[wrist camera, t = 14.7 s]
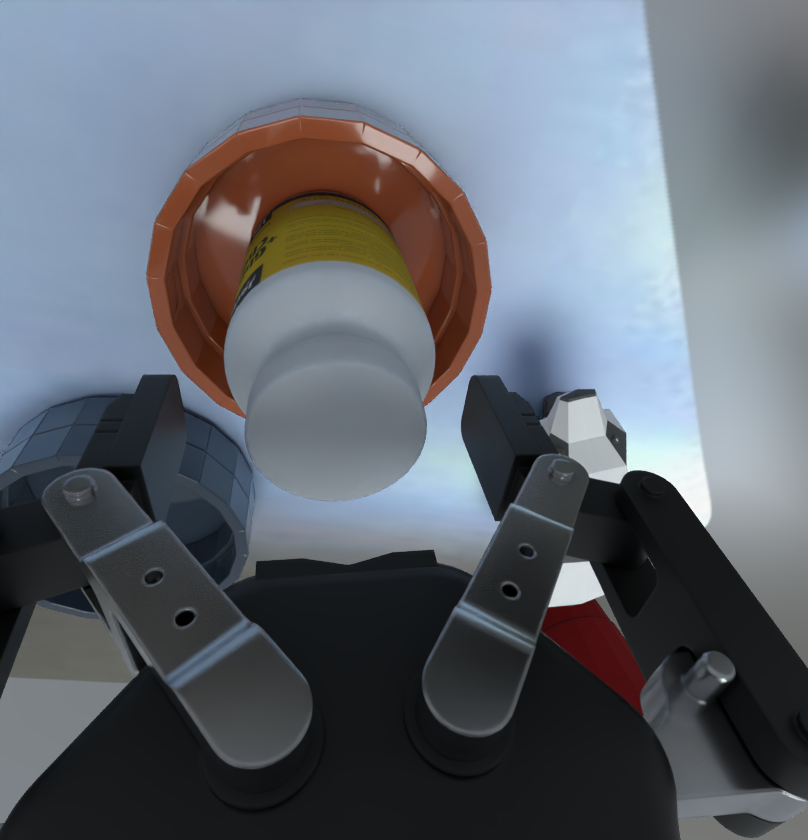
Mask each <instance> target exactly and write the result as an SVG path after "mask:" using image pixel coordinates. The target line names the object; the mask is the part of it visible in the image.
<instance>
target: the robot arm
mask: <svg viewBox="0 0 808 840" xmlns="http://www.w3.org/2000/svg"><path fill="white" fill-rule="evenodd" d="M461 433H462V438H463V441H464V443H465V446H466V448H467V451H468V453H469V456H470V459H471V461H472V464H473V466H474V469H475V471H476V474H477V476H478V479H479V481H480V484H481V486H482V489H483V491H484V494H485V496H486V499H487V501H488V504H489V507H490V509H491V512H492V514H493V517H494V519H495V521H501V522H500V524H499V526H498V528H497V530H496V532H495V534H494V535H493V537H492V539H491V541H490V543H489V545H488V547H487V549H486V551H485V553H484V555H483V557H482V559H481V561H480V563H479V565H478V567H477V569H476V571H475V573H474V574H473V576H472V575H470V574H468V573H466V572H464V571H462V570H460V569H457V568H455V567H452V566H448V565H445V564H440V563H437V561H436V557H435V553H434V550H422V551H407V552H392V553H389V554H386V555H382V556H379V557H375V558H372V559H369V560H365V561H362V562H359V563H355V564H351V565H343V564H336V563H330V562H323V561H316V560H309V559H287V560H272V561H257V562H256V575H255V576H252V577H249V578H246V579H244V580H241V581H239V582H237V583H235V584H233V585H231V586H229V587H227V588H225V589H224V590H222V589H221V588H220V587H219V585H218V584H217V583H216V582H215V581H214V579H213V578H212V577H211V576H210V575H209V574H208V572H207V571H206V570H205V569H204V568H203V567H202V565H201V564H200V563H199V562H198V561H197V559H196V558H195V557H194V556H193V555H192V554H191V552H190V551H189V550H188V549H187V548H186V547H185V545H184V544H183V543H182V542H181V541H180V539H179V538H178V537H177V536H176V535H175V534H174V532H173V531H172V530H171V529H170V528H169V527H168V525H167V524H166V523H165V520H166V516H167V513H168V509H169V505H170V501H171V498H172V494H173V490H174V486H175V483H176V479H177V475H178V471H179V468H180V464H181V460H182V456H183V453H184V449H185V445H186V436H187V430H186V420H185V415H184V410H183V405H182V399H181V394H180V389H179V384H178V380H177V377H176V375H143V376H142V378H141V380H140V383H139V385H138V387H137V390H136V392H135V394H121V395H120V396H119V397H117V398H116V399H115V400H114V401H112V402H111V403H110V404H109V405H107V407H106V409H105V411H104V413H103V415H102V417H101V419H100V422H99V423H98V425H97V427H96V429H95V433H93V435H92V437H91V439H90V441H89V443H88V445H87V447H86V449H85V451H84V453H83V455H82V457H81V459H80V461H79V463H78V465H77V467H76V469H75V470H74V471H71V472H68V473H66V474H64V475H62V476H60V477H58V478H56V479H55V480H54V481H52V482H51V483H50V484H49V485H48V486H47V487H46V488H45V490H44V491H43V494H42V497H41V498H39V499H36V500H33V501H29V502H25V503H21V504H17V505H13V506H9V507H5V508H1V509H0V698H1V695H2V693H3V690H4V687H5V684H6V682H7V679H8V677H9V674H10V671H11V669H12V666H13V663H14V661H15V658H16V655H17V653H18V650H19V648H20V645H21V642H22V640H23V637H24V634H25V632H26V629H27V626H28V624H29V621H30V618H31V616H32V613H33V610H34V608H35V605H36V602H38V601H42V600H45V599H48V598H51V597H54V596H57V595H60V594H63V593H66V592H70V591H73V590H76V589H79V588H81V590H82V592H83V593H84V595H85V596H86V598H87V600H88V601H89V603H90V604H91V606H92V608H93V609H94V611H95V612H96V614H97V615H98V617H99V619H100V620H101V622H102V623H103V625H104V627H105V628H106V630H107V631H108V633H109V634H110V636H111V638H112V639H113V641H114V642H115V644H116V646H117V648H118V649H119V651H120V653H121V655H122V657H123V659H124V661H125V663H126V664H127V666H128V668H129V670H130V672H131V673H132V675H133V677H134V679H133V680H132V681H131V682H130V683H129V684H128V685H127V686H126V687H125V688H124V689H123V690H122V691H121V692H120V693H119V694H118V696H116V697H115V698H114V699H113V700H112V702H111V703H110V704H109V705H108V706H107V707H106V708H105V709H104V710H103V711H102V712H101V713H100V714H99V715H98V716H97V717H96V718H95V719H94V720H93V721H92V722H91V723H90V724H89V726H88V727H87V728H86V729H85V730H84V731H83V732H82V733H81V734H80V735H79V736H78V737H77V738H76V739H75V740H74V741H73V742H72V743H71V744H70V745H69V746H68V747H67V748H66V749H65V751H64V752H63V753H62V754H61V755H60V756H59V757H58V758H57V759H56V760H55V761H54V762H53V763H52V764H51V765H50V766H49V767H48V768H47V769H46V770H45V771H44V772H43V773H42V775H41V776H40V777H39V778H38V779H37V780H36V781H35V782H34V783H33V784H32V786H30V787H29V789H28V790H27V791H26V792H25V793H24V795H23V796H22V797H21V799H20V800H19V801H18V803H17V804H16V806H15V807H14V808H13V810H12V811H11V813H10V815H9V816H8V818H7V820H6V821H5V823H1V824H0V840H680V833H679V826H678V819H689V818H699V817H709V816H713V817H714V818H715V819H716V820H717V821H718V822H719V823H720V824H722V825H723V826H724V827H725V828H727V829H728V830H730V831H732V832H733V833H735V834H738V835H740V836H744V837H749V838H755V837H759V836H762V835H764V834H765V833H767V832H769V831H770V830H772V829H774V828H775V827H777V826H778V825H780V824H782V823H783V822H785V821H787V820H788V819H790V818H792V817H793V816H795V815H797V814H798V813H800V812H802V811H803V810H805V809H807V808H808V668H807V667H806V665H805V664H804V662H803V661H802V660H801V659H800V657H799V656H798V654H797V653H796V652H795V650H794V649H793V648H792V646H791V645H790V644H789V642H788V641H787V639H786V638H785V637H784V635H783V634H782V632H781V631H780V630H779V628H778V627H777V626H776V624H775V623H774V622H773V620H772V619H771V617H770V616H769V615H768V613H767V612H766V611H765V609H764V608H763V607H762V605H761V604H760V603H759V601H758V600H757V598H756V597H755V596H754V594H753V593H752V592H751V590H750V589H749V587H748V586H747V585H746V583H745V582H744V581H743V579H742V578H741V577H740V575H739V574H738V573H737V571H736V570H735V568H734V567H733V566H732V564H731V563H730V562H729V560H728V559H727V557H726V556H725V555H724V553H723V552H722V551H721V549H720V548H719V547H718V545H717V544H716V543H715V541H714V540H713V538H712V537H711V536H710V534H709V533H708V532H707V530H706V529H705V527H704V526H703V525H702V523H701V522H700V521H699V519H698V518H697V517H696V515H695V514H694V512H693V511H692V510H691V508H690V507H689V506H688V504H687V503H686V502H685V500H684V499H683V497H682V496H681V495H680V493H679V492H678V491H677V489H676V488H675V487H674V486H673V485H672V484H671V483H670V482H668V481H667V480H666V479H664V478H662V477H660V476H658V475H656V474H654V473H651V472H647V471H640V470H636V471H630V472H628V473H626V474H625V475H624V476H623V478H622V480H621V482H620V484H618V483H613V482H608V481H603V480H598V479H594V478H590V477H589V475H588V472H587V471H586V469H585V468H584V467H583V466H582V465H581V464H580V463H578V462H577V461H576V460H574V459H572V458H570V457H567V456H564V455H560V454H559V452H558V451H557V449H556V447H555V446H554V444H553V442H552V441H551V439H550V438H549V436H548V434H547V433H546V431H545V429H544V428H543V426H542V425H541V423H540V421H539V419H538V418H537V416H535V413H534V411H533V409H532V408H531V406H530V405H529V403H528V402H527V401H526V400H525V399H523V398H522V397H521V396H520V395H518V394H517V393H516V392H508V391H507V389H506V387H505V385H504V384H503V382H502V380H501V378H500V377H499V376H497V375H474V376H472V377H471V379H470V382H469V386H468V391H467V395H466V400H465V405H464V410H463V414H462V419H461ZM565 556H571V557H575V558H580V559H585V560H589V562H590V565H591V567H592V569H593V571H594V573H595V575H596V577H597V579H598V582H599V584H600V586H601V588H602V590H603V592H604V594H605V596H606V599H607V601H608V603H609V605H610V607H611V609H612V611H613V613H614V616H615V617H616V620H617V622H618V624H619V626H620V628H621V631H622V632H623V635H624V637H625V639H626V641H627V643H628V645H629V648H630V650H631V652H632V654H633V656H634V658H635V660H636V662H637V665H638V667H639V669H640V671H641V673H642V675H643V677H644V679H645V682H646V683H645V685H644V686H643V688H642V690H641V693H640V704H641V708H642V712H643V715H644V717H643V716H642V715H641V714H640V713H639V712H638V711H637V710H636V709H635V708H634V707H633V706H632V705H631V704H630V703H629V702H627V701H626V700H625V699H624V698H623V697H622V696H620V695H619V694H618V693H617V692H615V691H614V690H613V689H612V688H611V687H609V686H608V685H607V684H606V683H604V682H603V681H602V680H601V679H600V678H598V677H597V676H596V675H595V674H593V673H592V672H591V671H590V670H589V669H587V668H586V667H585V666H584V665H583V664H581V663H580V662H579V661H578V660H576V659H575V658H574V657H573V656H572V655H570V654H569V653H568V652H567V651H565V650H564V649H563V648H562V647H561V646H559V645H558V644H557V643H556V642H555V641H553V640H552V639H551V638H550V637H548V636H547V635H546V634H545V633H544V632H542V631H541V627H542V624H543V621H544V618H545V615H546V612H547V609H548V606H549V603H550V600H551V597H552V594H553V591H554V588H555V585H556V583H557V580H558V577H559V574H560V571H561V568H562V565H563V562H564V559H565ZM648 557H649V559H650V561H651V562H652V564H653V566H654V567H653V566H652V564H651V562H650V561H649V559H648ZM654 568H655V569H654Z"/></svg>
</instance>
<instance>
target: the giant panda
mask: <svg viewBox="0 0 808 840" xmlns="http://www.w3.org/2000/svg"><path fill="white" fill-rule="evenodd" d="M539 421H540V423H541V425H542V426H543V428H544V429H545V431H546V433H547V434H548V436H549V438H550V439H551V441H552V442H553V444H554V446H555V447H556V449H557V451H558V452H559V454H560V455H564V456H567V457H570V458H572V459H574V460H576V461H577V462H578V463H580V464H581V465H582V466H583V467H584V468H585V469H586V471H587V472H588V475H589V477H590V478H594V479H598V480H603V481H608V482H613V483H618V484H620V482H621V480H622V478H623V476H624V475H625V474H626V473H627V463H626V432H625V431H624V429H623V428H622V426H621V425H620V424H619V422H618V421H617V419H616V418H615V416H614V415H613V413H612V412H611V410H610V409H603V408H602V406H601V404H600V401H599V399H598V396H597V394H596V391H595V389H577V390H575V391H571V392H567V393H560V392H557V393H555V394H553V395H551V396H548V397H546V399H545V403H544V408H543V419H542V420H539ZM603 595H605V594H604V592H603V590H602V588H601V586H600V584H599V582H598V579H597V577H596V575H595V573H594V571H593V569H592V567H591V565H590V562H589V560H585V559H580V558H575V557H571V556H565V559H564V562H563V565H562V568H561V571H560V574H559V577H558V580H557V583H556V585H555V588H554V591H553V594H552V597H551V600H550V603H549V606H548V607H556V606H566V605H567V606H574V605H575V604H582V603H585V602H587V601H590V600H593V599H595V598H598V597H600V596H603Z"/></svg>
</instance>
